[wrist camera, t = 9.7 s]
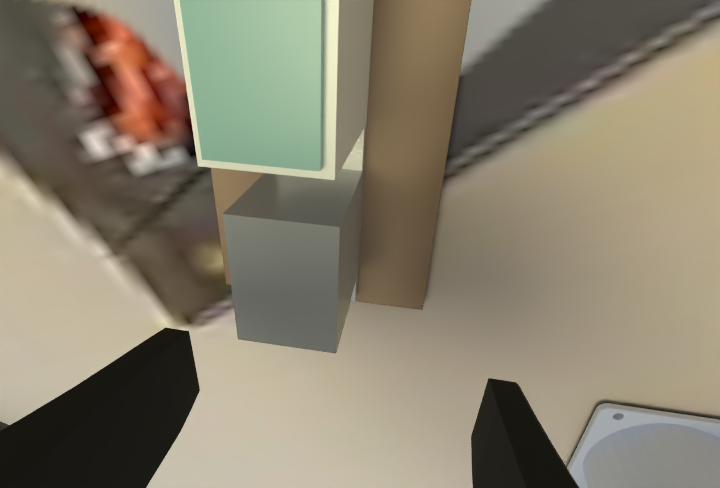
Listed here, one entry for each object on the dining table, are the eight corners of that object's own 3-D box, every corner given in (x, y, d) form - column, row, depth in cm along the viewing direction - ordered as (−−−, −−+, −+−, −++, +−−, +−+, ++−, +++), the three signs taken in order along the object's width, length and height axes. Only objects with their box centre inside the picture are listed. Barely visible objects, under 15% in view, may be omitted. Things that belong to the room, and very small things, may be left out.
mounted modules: (392, -343, 10) (364, -612, 6) (357, 275, 19) (336, 353, 15) (249, -339, 10) (120, -589, 6) (281, 265, 19) (238, 339, 15)
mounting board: (536, -431, 10) (544, -465, 9) (422, 300, 21) (422, 309, 20) (148, -412, 11) (130, -440, 10) (232, 275, 22) (226, 284, 21)
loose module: (375, -37, 13) (337, -71, 8) (366, 124, 16) (332, 184, 10) (265, -42, 13) (153, -79, 8) (273, 115, 16) (192, 169, 10)
